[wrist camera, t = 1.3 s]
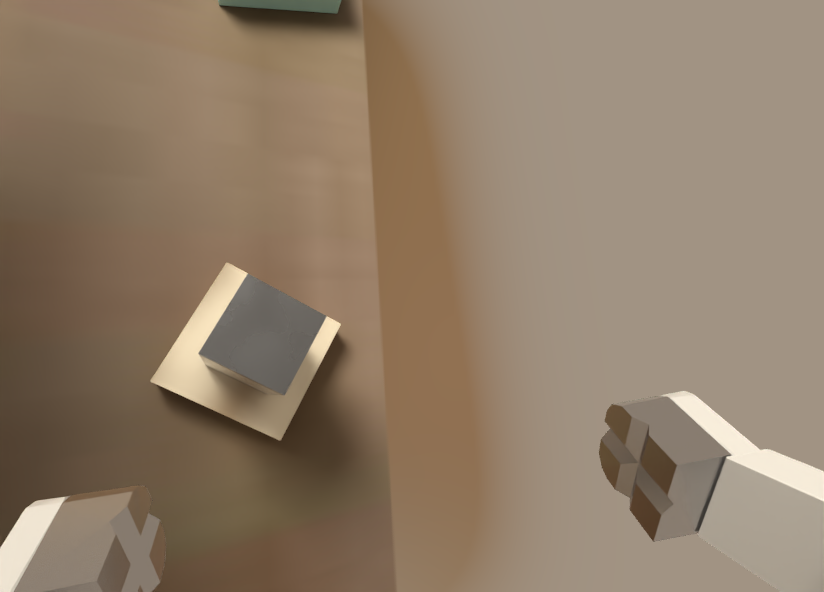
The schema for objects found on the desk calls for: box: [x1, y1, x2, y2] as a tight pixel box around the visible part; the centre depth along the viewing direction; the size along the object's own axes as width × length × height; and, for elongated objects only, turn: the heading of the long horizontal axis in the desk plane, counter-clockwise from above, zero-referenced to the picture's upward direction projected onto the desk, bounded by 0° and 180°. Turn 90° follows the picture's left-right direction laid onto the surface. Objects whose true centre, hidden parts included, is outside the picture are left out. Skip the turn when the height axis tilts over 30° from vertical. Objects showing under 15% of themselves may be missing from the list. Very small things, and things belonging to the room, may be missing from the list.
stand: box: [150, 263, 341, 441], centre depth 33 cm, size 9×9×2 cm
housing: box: [198, 274, 327, 395], centre depth 27 cm, size 4×4×10 cm
